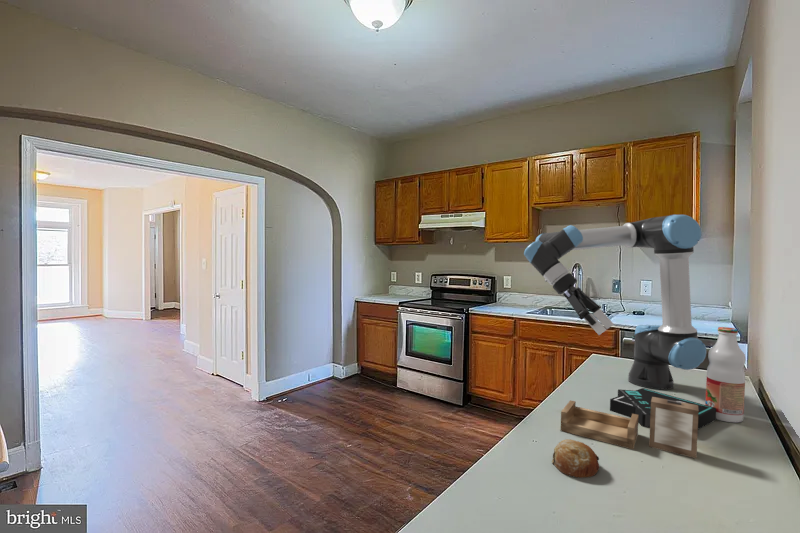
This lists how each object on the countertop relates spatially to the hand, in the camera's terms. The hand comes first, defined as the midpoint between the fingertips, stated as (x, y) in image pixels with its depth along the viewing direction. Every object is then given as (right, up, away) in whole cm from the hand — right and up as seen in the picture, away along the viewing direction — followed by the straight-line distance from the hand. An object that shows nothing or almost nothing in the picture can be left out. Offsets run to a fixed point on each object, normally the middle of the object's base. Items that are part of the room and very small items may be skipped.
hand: (606, 329), depth 129 cm
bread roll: (-25, -27, -34) cm, 50 cm away
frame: (+5, -27, -24) cm, 37 cm away
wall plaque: (+16, -27, -2) cm, 32 cm away
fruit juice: (+35, -27, -2) cm, 45 cm away
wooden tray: (-10, -27, -15) cm, 32 cm away
